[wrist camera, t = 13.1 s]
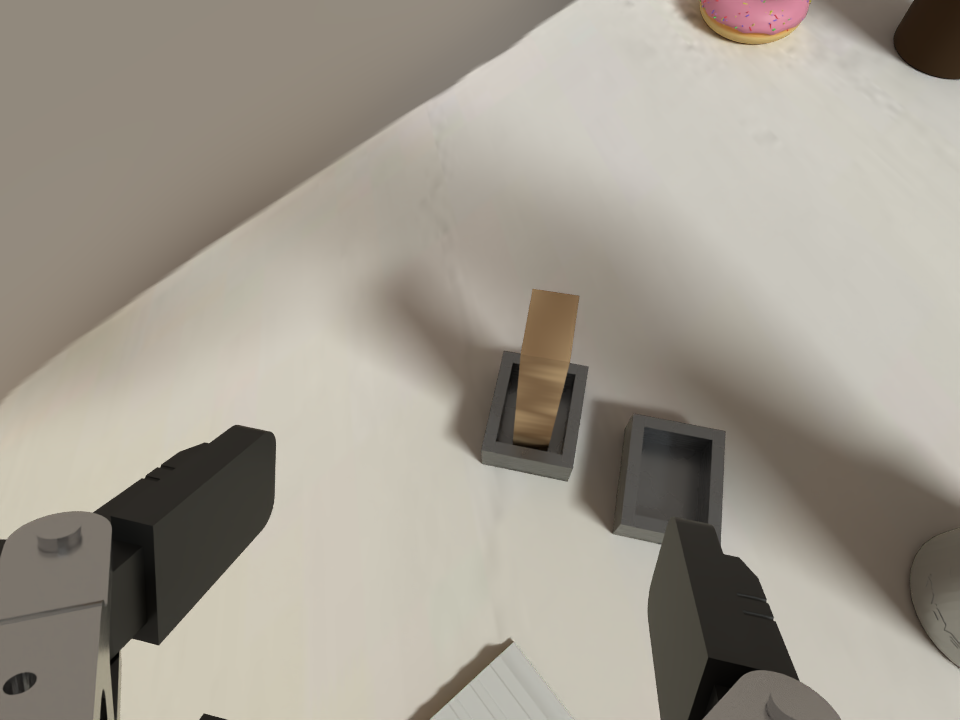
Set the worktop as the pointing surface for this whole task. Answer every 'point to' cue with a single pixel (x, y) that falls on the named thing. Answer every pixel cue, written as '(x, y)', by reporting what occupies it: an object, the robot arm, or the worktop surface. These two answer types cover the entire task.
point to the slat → (543, 366)
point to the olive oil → (931, 37)
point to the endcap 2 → (668, 477)
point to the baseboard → (506, 693)
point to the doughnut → (754, 18)
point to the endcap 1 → (502, 421)
